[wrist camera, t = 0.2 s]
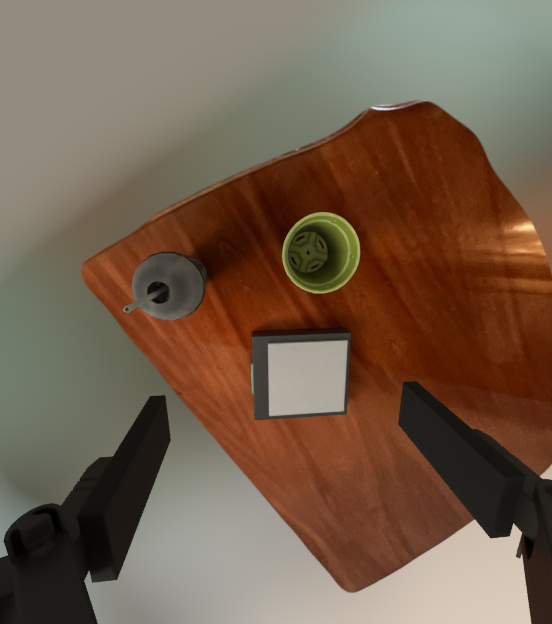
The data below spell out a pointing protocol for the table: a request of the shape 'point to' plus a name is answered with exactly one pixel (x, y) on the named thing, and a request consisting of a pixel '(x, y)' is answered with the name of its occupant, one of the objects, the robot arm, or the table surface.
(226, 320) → the table surface
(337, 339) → the scale
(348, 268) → the plant pot
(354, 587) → the table surface
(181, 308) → the beverage cup
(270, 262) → the table surface
